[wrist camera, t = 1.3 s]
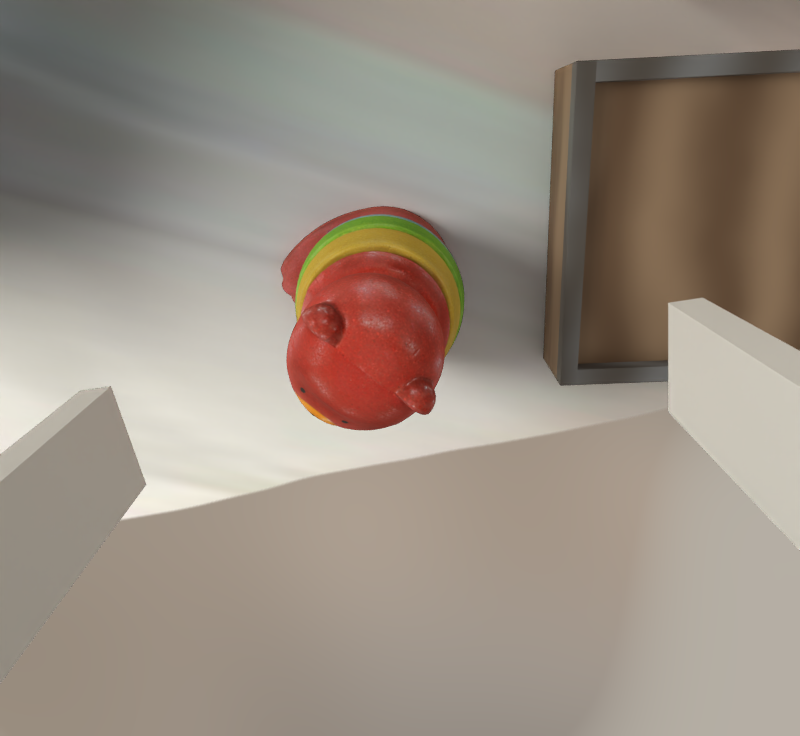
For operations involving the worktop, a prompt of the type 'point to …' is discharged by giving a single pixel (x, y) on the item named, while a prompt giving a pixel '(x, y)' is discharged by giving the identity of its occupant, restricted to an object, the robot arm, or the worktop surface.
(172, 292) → the worktop surface
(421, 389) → the stacking bear
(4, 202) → the worktop surface
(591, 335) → the square tray
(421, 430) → the worktop surface
